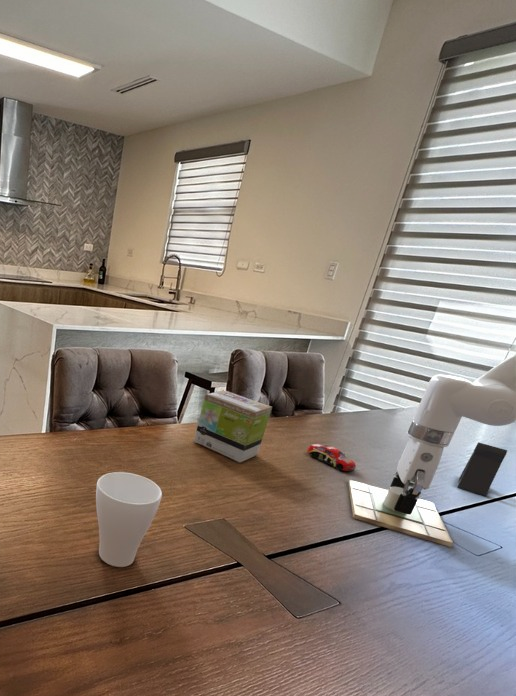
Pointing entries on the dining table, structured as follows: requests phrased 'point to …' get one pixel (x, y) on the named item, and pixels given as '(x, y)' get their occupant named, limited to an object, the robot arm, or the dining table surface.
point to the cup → (124, 514)
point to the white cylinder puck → (392, 497)
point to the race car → (331, 457)
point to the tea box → (232, 425)
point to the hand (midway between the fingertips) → (398, 502)
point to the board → (397, 514)
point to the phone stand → (481, 468)
